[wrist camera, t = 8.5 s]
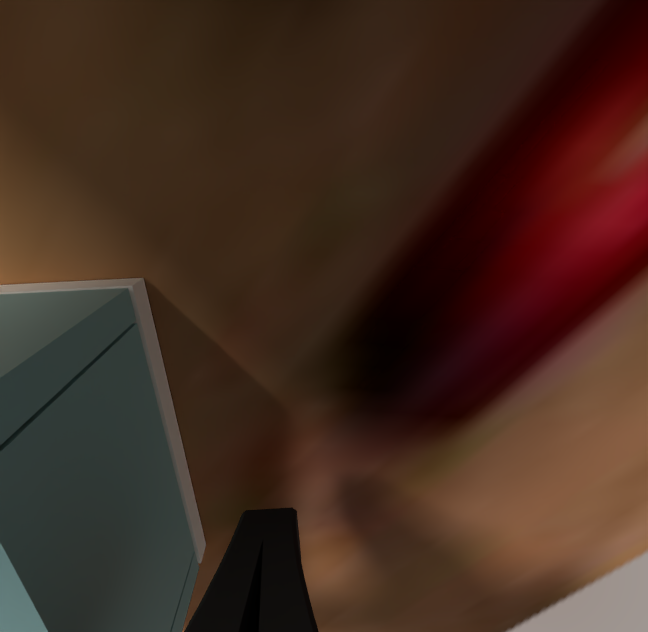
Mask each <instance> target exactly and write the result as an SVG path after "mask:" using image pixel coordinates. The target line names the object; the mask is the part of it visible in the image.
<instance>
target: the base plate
mask: <svg viewBox="0 0 648 632" xmlns="http://www.w3.org/2000/svg"><path fill="white" fill-rule="evenodd" d="M116 288H128V289H129V293H130V297H131V301H132V305H133V309H134V313H135V317H136V321H135V322H134V323H137V325H138V329H139V333H140V337H141V341H142V345H143V349H144V352H145V356H146V360H147V364H148V368H149V372H150V376H151V380H152V384H153V388H154V392H155V396H156V400H157V404H158V408H159V412H160V416H161V419H162V423H163V427H164V431H165V435H166V439H167V443H168V447H169V451H170V455H171V459H172V463H173V467H174V471H175V475H176V479H177V483H178V486H179V490H180V494H181V498H182V502H183V506H184V510H185V514H186V518H187V522H188V526H189V530H190V534H191V538H192V542H193V546H194V551H195V553H196V557H197V561H198V563H201V562H202V558H203V555H204V551H205V547H206V542H205V538H204V534H203V529H202V525H201V521H200V517H199V512H198V508H197V504H196V500H195V495H194V491H193V487H192V482H191V478H190V474H189V470H188V465H187V461H186V457H185V453H184V448H183V444H182V440H181V436H180V431H179V427H178V423H177V419H176V414H175V410H174V406H173V402H172V397H171V393H170V389H169V385H168V380H167V376H166V372H165V368H164V363H163V359H162V355H161V350H160V346H159V342H158V338H157V333H156V329H155V325H154V321H153V316H152V312H151V308H150V304H149V299H148V295H147V291H146V287H145V282H144V278H128V279H109V280H89V281H69V282H50V283H30V284H10V285H0V294H18V293H38V292H57V291H77V290H96V289H116Z"/></svg>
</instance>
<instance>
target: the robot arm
mask: <svg viewBox="0 0 648 632" xmlns="http://www.w3.org/2000/svg"><path fill="white" fill-rule="evenodd" d="M184 632H318V628H317V625H316V621H315V618H314V614H313V611H312V607H311V603H310V599H309V595H308V591H307V586H306V582H305V578H304V574H303V569H302V564H301V552H300V542H299V531H298V520H297V511H296V510H295V509H293V508H279V509H262V510H246V511H245V512H243V513H242V515H241V517H240V520H239V523H238V525H237V528H236V530H235V532H234V535H233V537H232V539H231V542H230V544H229V546H228V548H227V550H226V553H225V555H224V557H223V559H222V561H221V563H220V565H219V567H218V569H217V571H216V573H215V575H214V577H213V579H212V581H211V583H210V585H209V587H208V589H207V591H206V593H205V595H204V597H203V599H202V601H201V603H200V604H199V606H198V608H197V610H196V612H195V613H194V615H193V617H192V619H191V620H190V622H189V624H188V626H187V628H186V629H185V631H184Z"/></svg>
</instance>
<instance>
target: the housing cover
mask: <svg viewBox="0 0 648 632" xmlns="http://www.w3.org/2000/svg"><path fill="white" fill-rule="evenodd" d="M135 321H136V317H135V313H134V309H133V305H132V301H131V297H130V293H129V289H128V288H116V289H96V290H77V291H57V292H38V293H18V294H0V632H182V630H183V626H184V622H185V619H186V615H187V611H188V607H189V604H190V600H191V596H192V593H193V589H194V585H195V582H196V578H197V574H198V570H199V565H198V561H197V557H196V553H195V551H194V546H193V542H192V538H191V534H190V530H189V526H188V522H187V518H186V514H185V510H184V506H183V502H182V498H181V494H180V490H179V486H178V483H177V479H176V475H175V471H174V467H173V463H172V459H171V455H170V451H169V447H168V443H167V439H166V435H165V431H164V427H163V423H162V419H161V416H160V412H159V408H158V404H157V400H156V396H155V392H154V388H153V384H152V380H151V376H150V372H149V368H148V364H147V360H146V356H145V352H144V349H143V345H142V341H141V337H140V333H139V329H138V325H137V323H134V322H135Z"/></svg>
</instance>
